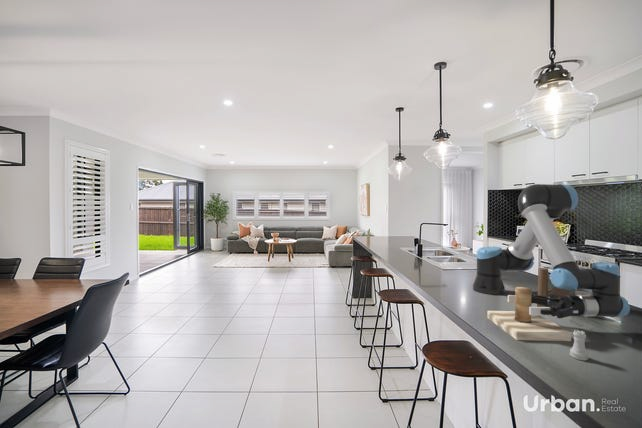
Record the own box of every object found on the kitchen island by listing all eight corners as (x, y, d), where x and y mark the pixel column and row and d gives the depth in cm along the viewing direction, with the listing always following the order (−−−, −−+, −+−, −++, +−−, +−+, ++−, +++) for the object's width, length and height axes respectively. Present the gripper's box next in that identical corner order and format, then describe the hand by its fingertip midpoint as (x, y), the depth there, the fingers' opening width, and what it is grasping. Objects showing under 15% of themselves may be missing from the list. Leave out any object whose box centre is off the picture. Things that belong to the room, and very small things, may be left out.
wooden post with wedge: (568, 313, 127) (569, 271, 127) (537, 308, 133) (538, 268, 133) (567, 311, 130) (568, 270, 130) (536, 306, 136) (537, 267, 136)
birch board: (487, 317, 123) (487, 310, 123) (532, 318, 122) (533, 311, 122) (516, 339, 103) (516, 331, 103) (571, 341, 102) (571, 332, 102)
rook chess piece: (565, 354, 93) (566, 328, 93) (578, 353, 93) (579, 328, 93) (579, 361, 89) (579, 334, 88) (592, 360, 89) (593, 334, 89)
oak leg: (511, 325, 115) (512, 286, 114) (525, 325, 115) (526, 286, 114) (519, 331, 110) (520, 290, 109) (534, 331, 110) (535, 290, 109)
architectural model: (594, 311, 132) (594, 294, 131) (574, 308, 135) (574, 292, 135) (591, 308, 135) (591, 292, 134) (571, 306, 138) (572, 290, 138)
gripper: (607, 329, 98) (540, 328, 100) (553, 304, 123) (500, 303, 125) (608, 307, 98) (541, 305, 99) (554, 286, 123) (500, 285, 124)
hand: (518, 304), depth 112 cm, fingers open, 13 cm apart
